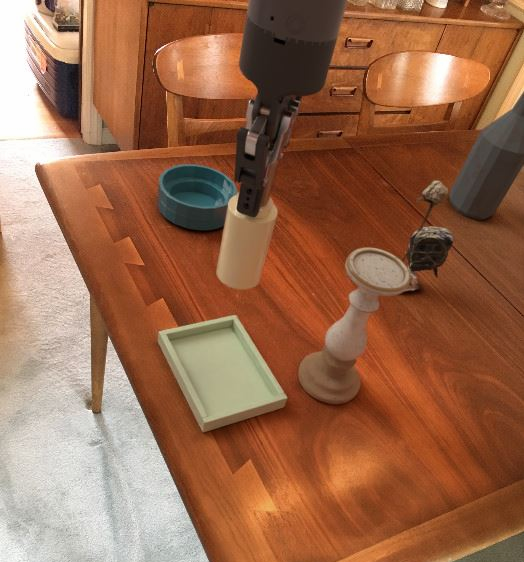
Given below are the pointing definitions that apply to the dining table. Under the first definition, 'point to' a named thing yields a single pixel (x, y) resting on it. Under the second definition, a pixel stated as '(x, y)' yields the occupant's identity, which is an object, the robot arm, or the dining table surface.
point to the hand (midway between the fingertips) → (253, 201)
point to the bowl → (195, 196)
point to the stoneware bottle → (247, 241)
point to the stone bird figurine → (428, 239)
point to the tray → (220, 372)
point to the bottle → (491, 166)
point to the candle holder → (352, 326)
